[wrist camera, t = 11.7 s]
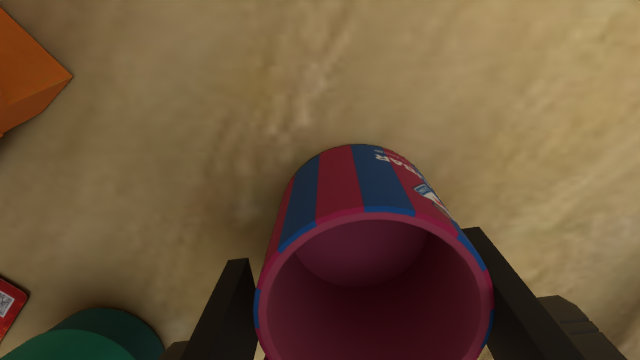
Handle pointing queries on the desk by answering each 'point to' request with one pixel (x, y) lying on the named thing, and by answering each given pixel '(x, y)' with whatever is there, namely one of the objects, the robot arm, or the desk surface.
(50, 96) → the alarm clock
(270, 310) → the cup
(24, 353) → the cup
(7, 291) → the card
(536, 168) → the desk surface
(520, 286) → the robot arm
